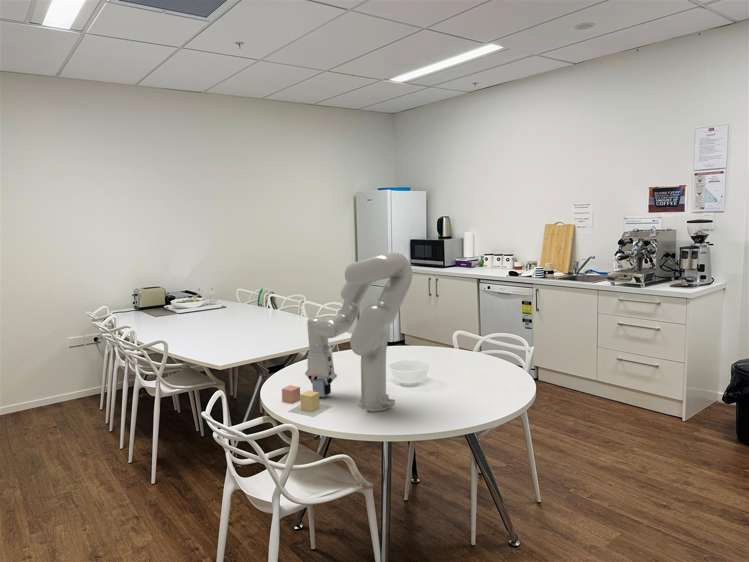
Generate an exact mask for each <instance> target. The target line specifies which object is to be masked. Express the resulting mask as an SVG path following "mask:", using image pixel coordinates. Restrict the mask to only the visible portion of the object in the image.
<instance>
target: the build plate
mask: <svg viewBox="0 0 749 562" xmlns="http://www.w3.org/2000/svg"><path fill="white" fill-rule="evenodd" d="M319 406H320V408H318V409H317V410H315V411H313V412H309V411H304V410H301V404H300V405H297V406H296V407H292V408H291V409H290V410H289V409H288V410H287V412H289V413H292V414H298V415H302V416H308V417H312V418H315V417H317V416H319V415H320V414H322V413H323V412H326V411H328V409H331V408H332V407H333V406H332V405H327V404H321V403H319Z"/></svg>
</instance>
